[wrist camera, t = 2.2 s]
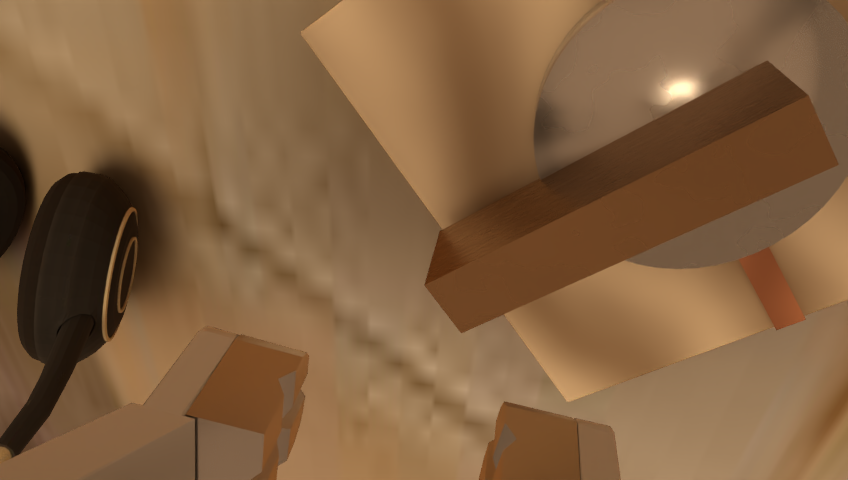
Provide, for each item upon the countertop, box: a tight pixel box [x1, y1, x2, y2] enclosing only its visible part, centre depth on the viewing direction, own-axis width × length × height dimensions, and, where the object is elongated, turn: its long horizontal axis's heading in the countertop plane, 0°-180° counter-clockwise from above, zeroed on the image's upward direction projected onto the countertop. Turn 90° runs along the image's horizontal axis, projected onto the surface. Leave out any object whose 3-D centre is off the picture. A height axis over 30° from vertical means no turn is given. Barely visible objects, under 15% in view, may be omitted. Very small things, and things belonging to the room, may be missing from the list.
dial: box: [425, 0, 848, 333], centre depth 22 cm, size 16×11×5 cm
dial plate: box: [300, 0, 848, 402], centre depth 25 cm, size 21×21×2 cm
